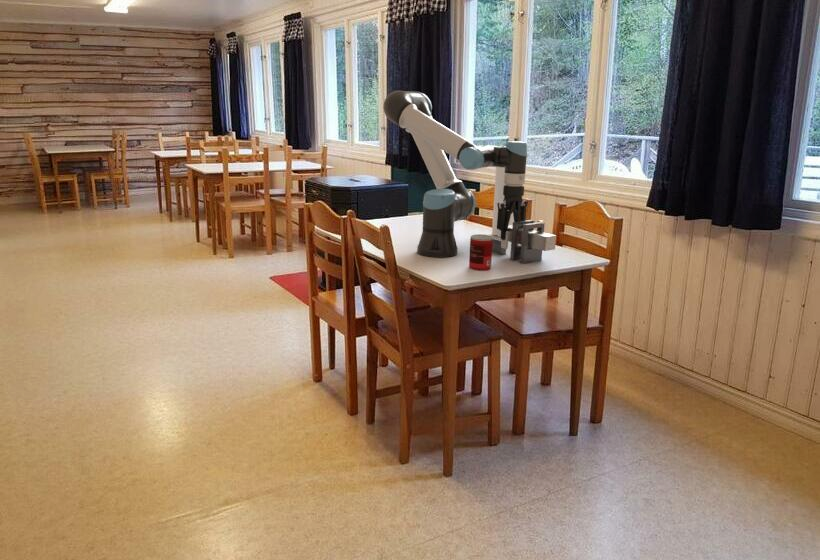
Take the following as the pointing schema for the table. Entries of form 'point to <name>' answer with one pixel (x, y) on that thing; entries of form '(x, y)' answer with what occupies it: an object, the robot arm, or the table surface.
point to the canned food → (480, 252)
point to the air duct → (535, 239)
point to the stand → (498, 246)
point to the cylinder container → (499, 199)
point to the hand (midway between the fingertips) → (509, 247)
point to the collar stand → (525, 242)
